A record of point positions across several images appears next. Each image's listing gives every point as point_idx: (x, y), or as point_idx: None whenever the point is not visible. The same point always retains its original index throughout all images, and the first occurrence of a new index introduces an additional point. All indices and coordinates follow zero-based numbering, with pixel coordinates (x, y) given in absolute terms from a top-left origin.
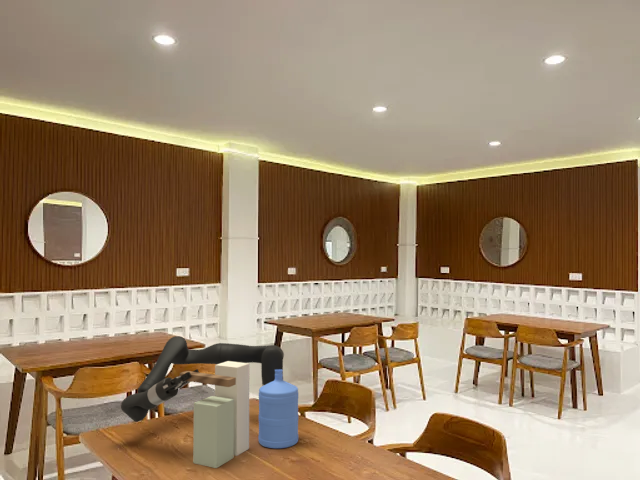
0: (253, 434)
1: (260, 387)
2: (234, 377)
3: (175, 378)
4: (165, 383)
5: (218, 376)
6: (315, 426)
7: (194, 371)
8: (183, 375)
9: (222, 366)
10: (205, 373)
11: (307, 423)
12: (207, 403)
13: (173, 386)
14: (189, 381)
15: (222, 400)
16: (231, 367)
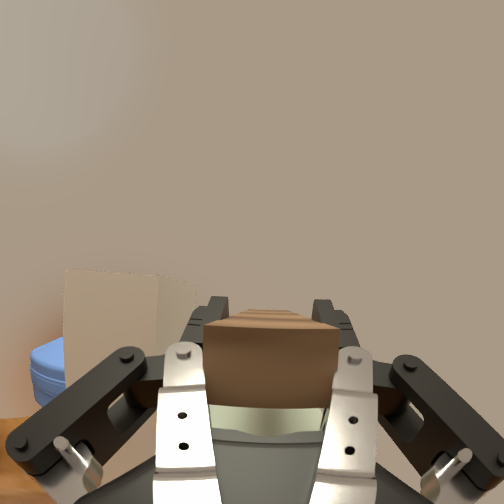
0: (36, 501)
1: (63, 366)
2: (250, 309)
3: (412, 361)
4: (490, 433)
5: (264, 311)
6: (23, 422)
7: (224, 314)
8: (352, 330)
9: (174, 282)
10: (238, 314)
11: (3, 424)
12: (305, 419)
13: (410, 446)
14: (109, 458)
15: (241, 407)
16: (189, 285)
